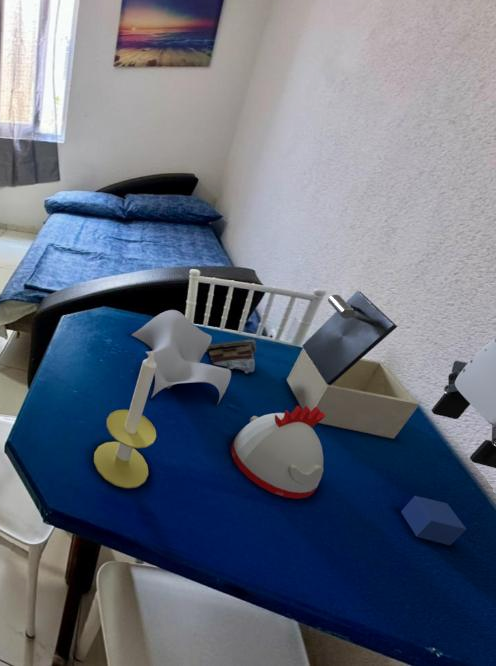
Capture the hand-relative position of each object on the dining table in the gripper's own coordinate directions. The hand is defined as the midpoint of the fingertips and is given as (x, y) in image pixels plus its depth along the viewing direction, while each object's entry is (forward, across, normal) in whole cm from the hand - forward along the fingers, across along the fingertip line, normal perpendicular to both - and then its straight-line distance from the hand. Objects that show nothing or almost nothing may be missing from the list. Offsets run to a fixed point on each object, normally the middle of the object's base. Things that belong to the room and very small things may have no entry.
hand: (462, 438), depth 61 cm
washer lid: (0, +25, +6) cm, 26 cm away
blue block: (+18, -2, -3) cm, 19 cm away
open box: (+18, +26, +1) cm, 32 cm away
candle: (+19, -8, +46) cm, 50 cm away
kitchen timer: (+19, +2, +19) cm, 26 cm away
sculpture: (+19, +26, +35) cm, 48 cm away
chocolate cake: (+19, +33, +22) cm, 44 cm away
